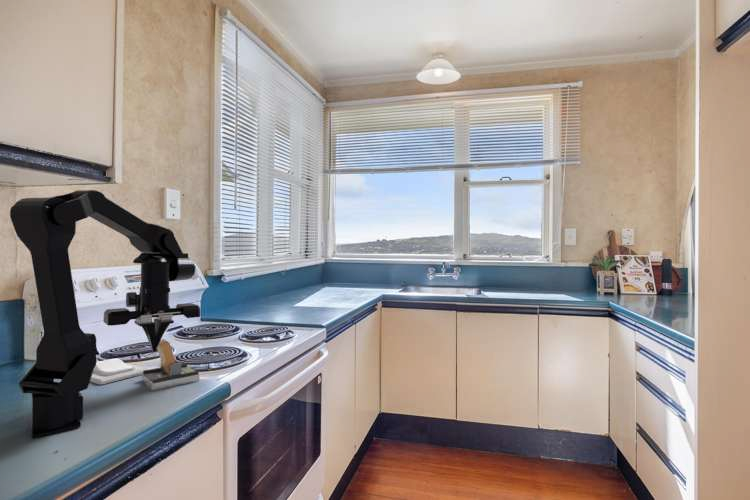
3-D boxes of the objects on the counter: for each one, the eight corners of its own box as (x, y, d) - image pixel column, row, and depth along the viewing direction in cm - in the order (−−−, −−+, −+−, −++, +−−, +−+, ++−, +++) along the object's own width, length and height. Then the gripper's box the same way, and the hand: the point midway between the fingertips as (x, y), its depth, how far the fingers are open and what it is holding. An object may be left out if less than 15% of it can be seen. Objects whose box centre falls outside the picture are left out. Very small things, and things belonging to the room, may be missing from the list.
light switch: (123, 353, 105) (149, 358, 98) (123, 369, 105) (149, 375, 98) (75, 363, 96) (100, 369, 89) (75, 380, 96) (101, 388, 89)
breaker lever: (170, 376, 91) (161, 346, 89) (164, 371, 95) (155, 341, 93) (178, 372, 92) (169, 342, 90) (172, 367, 96) (163, 338, 94)
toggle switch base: (151, 390, 86) (152, 369, 86) (141, 380, 93) (142, 360, 93) (199, 380, 93) (199, 360, 93) (186, 371, 100) (186, 352, 100)
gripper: (186, 279, 103) (184, 339, 103) (99, 281, 90) (98, 350, 90) (201, 282, 95) (200, 347, 95) (109, 286, 82) (107, 361, 82)
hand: (153, 351), depth 91 cm, fingers closed
